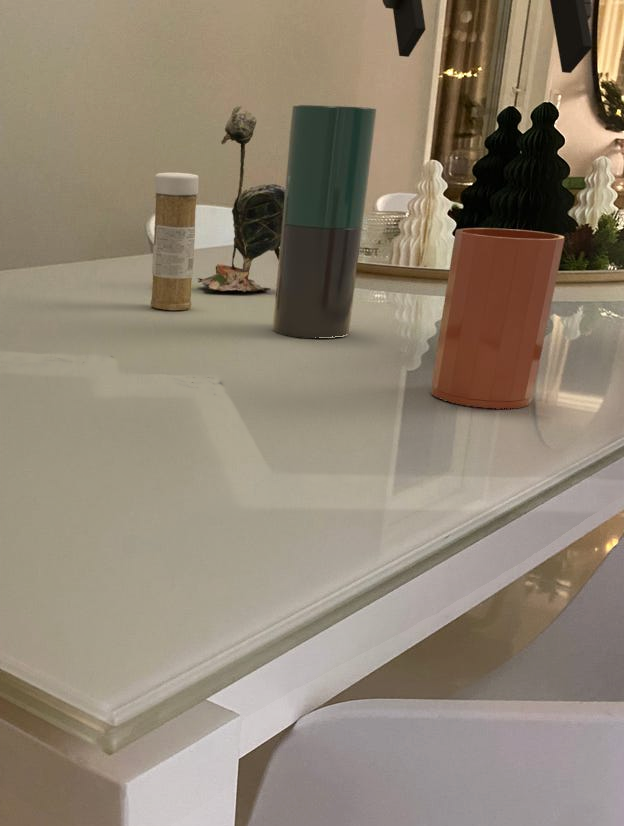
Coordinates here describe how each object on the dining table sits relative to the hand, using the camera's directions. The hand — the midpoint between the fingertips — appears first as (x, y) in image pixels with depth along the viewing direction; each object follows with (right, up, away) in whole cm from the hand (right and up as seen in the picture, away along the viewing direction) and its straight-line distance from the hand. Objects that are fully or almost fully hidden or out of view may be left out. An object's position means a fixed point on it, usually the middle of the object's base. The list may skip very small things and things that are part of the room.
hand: (496, 52), depth 77 cm
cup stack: (-10, -13, +27) cm, 31 cm away
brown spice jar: (-23, -8, +37) cm, 44 cm away
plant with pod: (-14, -1, +50) cm, 52 cm away
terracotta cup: (0, -25, +4) cm, 25 cm away
